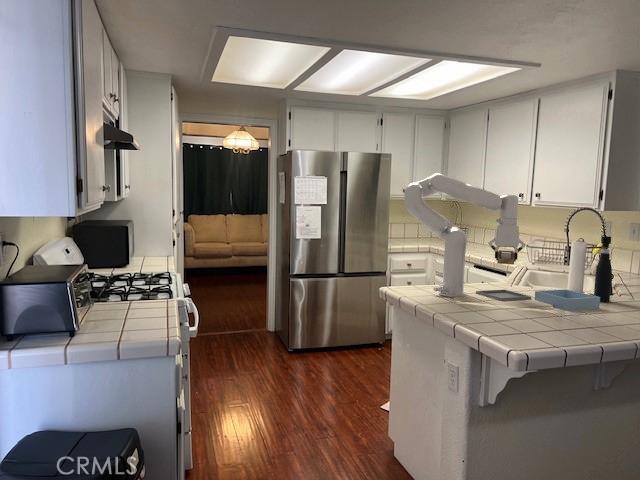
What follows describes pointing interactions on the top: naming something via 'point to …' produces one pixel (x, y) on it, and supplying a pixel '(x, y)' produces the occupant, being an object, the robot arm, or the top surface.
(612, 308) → the top surface
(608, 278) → the dark water bottle
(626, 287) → the top surface
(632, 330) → the top surface
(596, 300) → the bin
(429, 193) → the robot arm
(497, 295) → the tray
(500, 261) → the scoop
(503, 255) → the stone
